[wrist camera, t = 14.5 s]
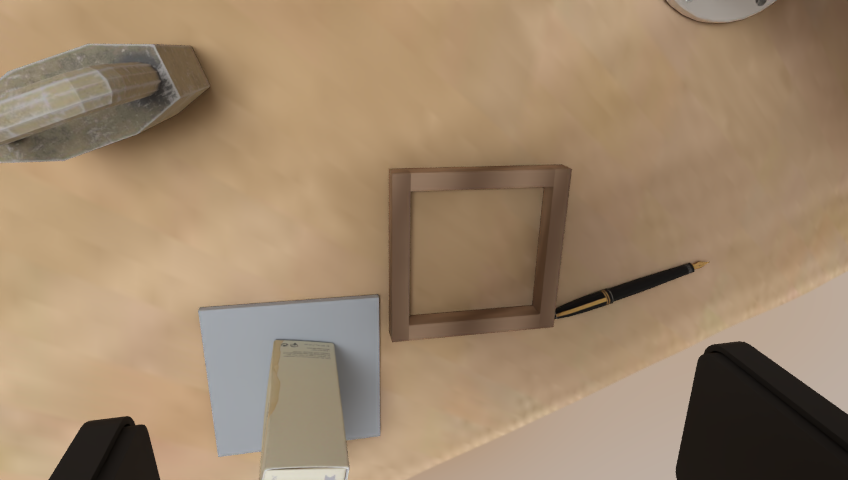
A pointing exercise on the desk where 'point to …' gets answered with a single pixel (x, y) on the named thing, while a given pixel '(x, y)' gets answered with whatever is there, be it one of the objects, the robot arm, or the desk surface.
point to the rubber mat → (252, 350)
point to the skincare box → (303, 415)
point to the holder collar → (464, 179)
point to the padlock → (93, 98)
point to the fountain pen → (623, 291)
